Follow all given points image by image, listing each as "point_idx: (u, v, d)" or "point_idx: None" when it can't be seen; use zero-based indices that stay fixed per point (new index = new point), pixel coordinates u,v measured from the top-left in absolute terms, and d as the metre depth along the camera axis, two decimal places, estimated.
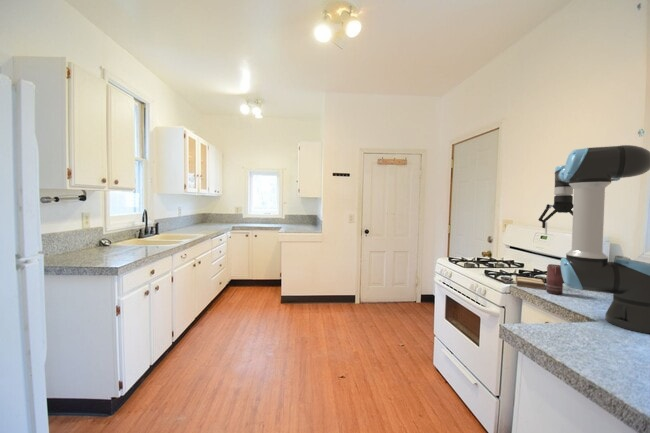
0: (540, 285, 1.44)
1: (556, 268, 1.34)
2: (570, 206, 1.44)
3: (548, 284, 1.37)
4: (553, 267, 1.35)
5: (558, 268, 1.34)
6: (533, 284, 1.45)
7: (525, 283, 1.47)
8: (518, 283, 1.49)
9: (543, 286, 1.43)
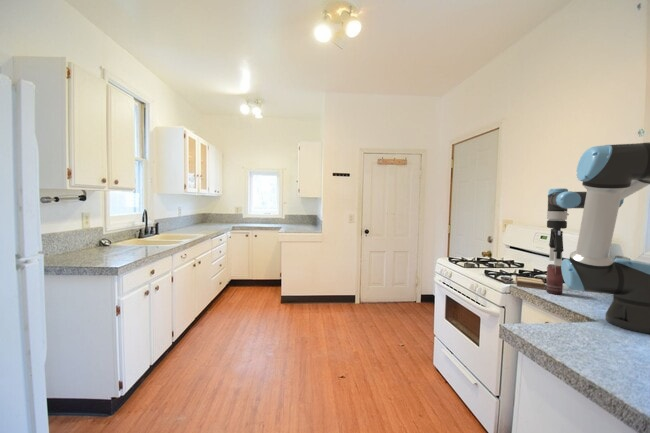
0: (540, 285, 1.44)
1: (556, 268, 1.34)
2: (554, 232, 1.34)
3: (548, 284, 1.37)
4: (553, 267, 1.35)
5: (558, 268, 1.34)
6: (533, 284, 1.45)
7: (525, 283, 1.47)
8: (518, 283, 1.49)
9: (543, 286, 1.43)
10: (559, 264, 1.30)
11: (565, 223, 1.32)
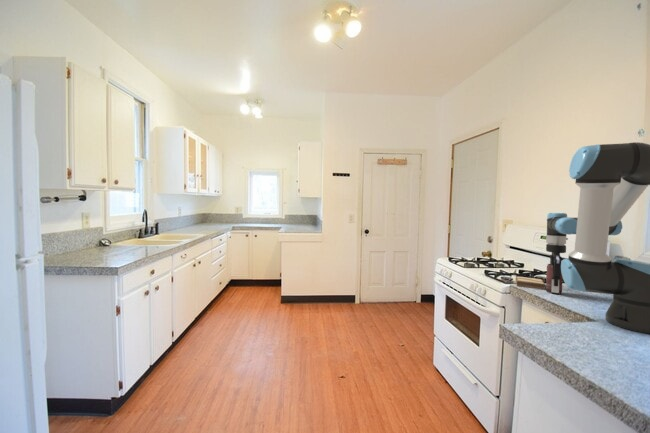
0: (540, 285, 1.44)
1: None
2: (553, 256, 1.34)
3: (548, 283, 1.38)
4: None
5: None
6: (533, 284, 1.45)
7: (525, 283, 1.47)
8: (518, 283, 1.49)
9: (543, 286, 1.43)
10: (556, 291, 1.34)
11: (564, 248, 1.33)
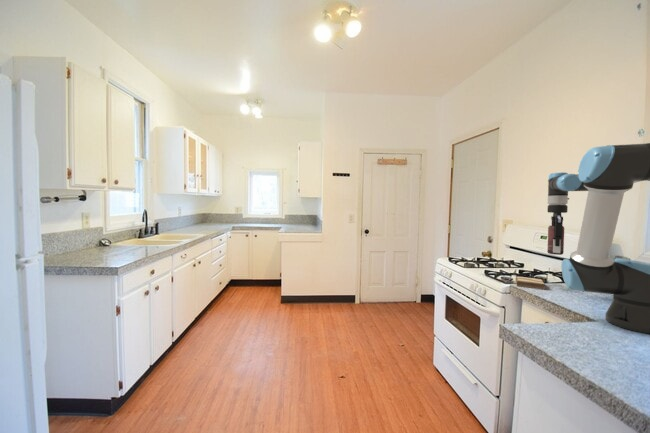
0: (540, 285, 1.44)
1: None
2: (555, 216, 1.34)
3: (549, 244, 1.37)
4: None
5: None
6: (533, 284, 1.45)
7: (525, 283, 1.47)
8: (518, 283, 1.49)
9: (543, 286, 1.43)
10: (558, 251, 1.34)
11: (566, 207, 1.32)
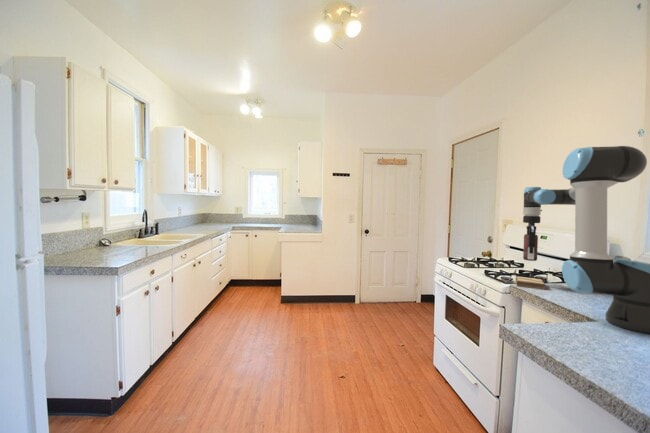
0: (540, 285, 1.44)
1: None
2: (529, 226, 1.48)
3: (524, 251, 1.52)
4: (528, 236, 1.50)
5: None
6: (533, 284, 1.45)
7: (525, 283, 1.47)
8: (518, 283, 1.49)
9: (543, 286, 1.43)
10: (532, 258, 1.48)
11: (538, 218, 1.46)
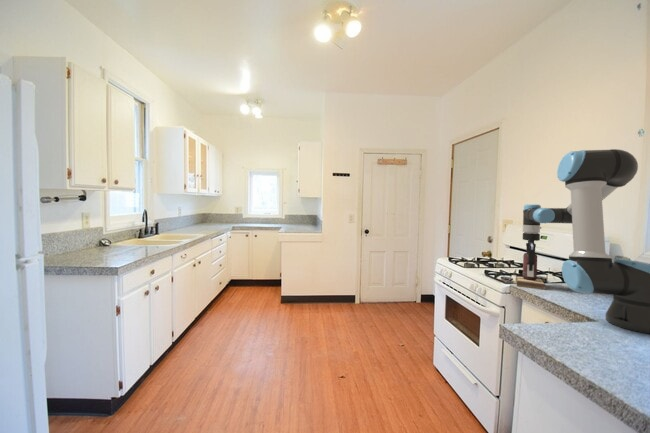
0: (540, 285, 1.44)
1: None
2: (528, 244, 1.48)
3: (524, 271, 1.52)
4: None
5: None
6: (533, 284, 1.45)
7: (525, 283, 1.47)
8: (518, 283, 1.49)
9: (543, 286, 1.43)
10: (531, 275, 1.48)
11: (538, 236, 1.47)
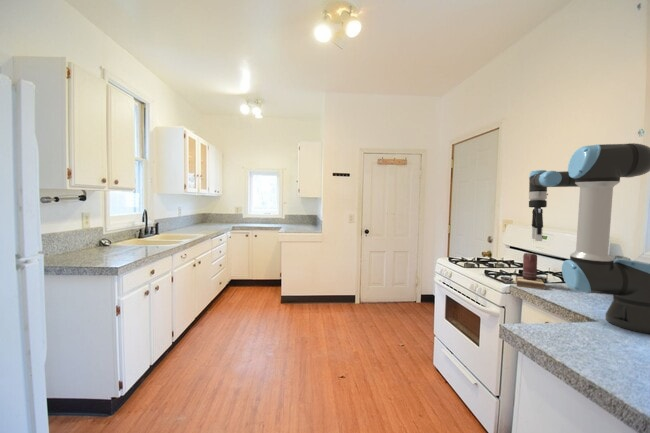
0: (540, 285, 1.44)
1: (530, 256, 1.49)
2: (535, 211, 1.45)
3: (524, 271, 1.52)
4: (528, 255, 1.50)
5: (532, 256, 1.49)
6: (533, 284, 1.45)
7: (525, 283, 1.47)
8: (518, 283, 1.49)
9: (543, 286, 1.43)
10: (540, 239, 1.40)
11: (545, 202, 1.43)
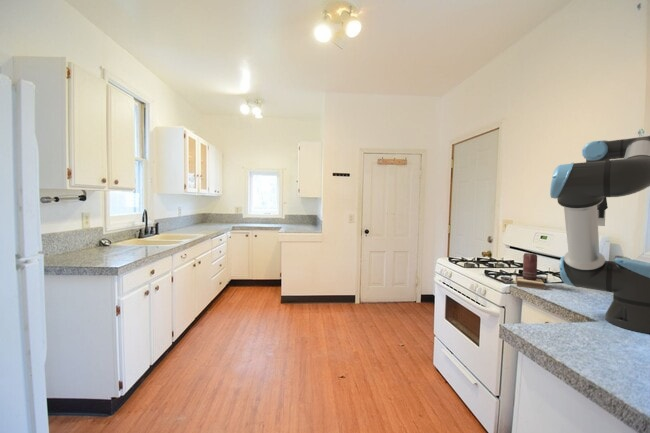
0: (540, 285, 1.44)
1: (530, 256, 1.49)
2: None
3: (524, 271, 1.52)
4: (528, 255, 1.50)
5: (532, 256, 1.49)
6: (533, 284, 1.45)
7: (525, 283, 1.47)
8: (518, 283, 1.49)
9: (543, 286, 1.43)
10: (602, 224, 1.16)
11: None
